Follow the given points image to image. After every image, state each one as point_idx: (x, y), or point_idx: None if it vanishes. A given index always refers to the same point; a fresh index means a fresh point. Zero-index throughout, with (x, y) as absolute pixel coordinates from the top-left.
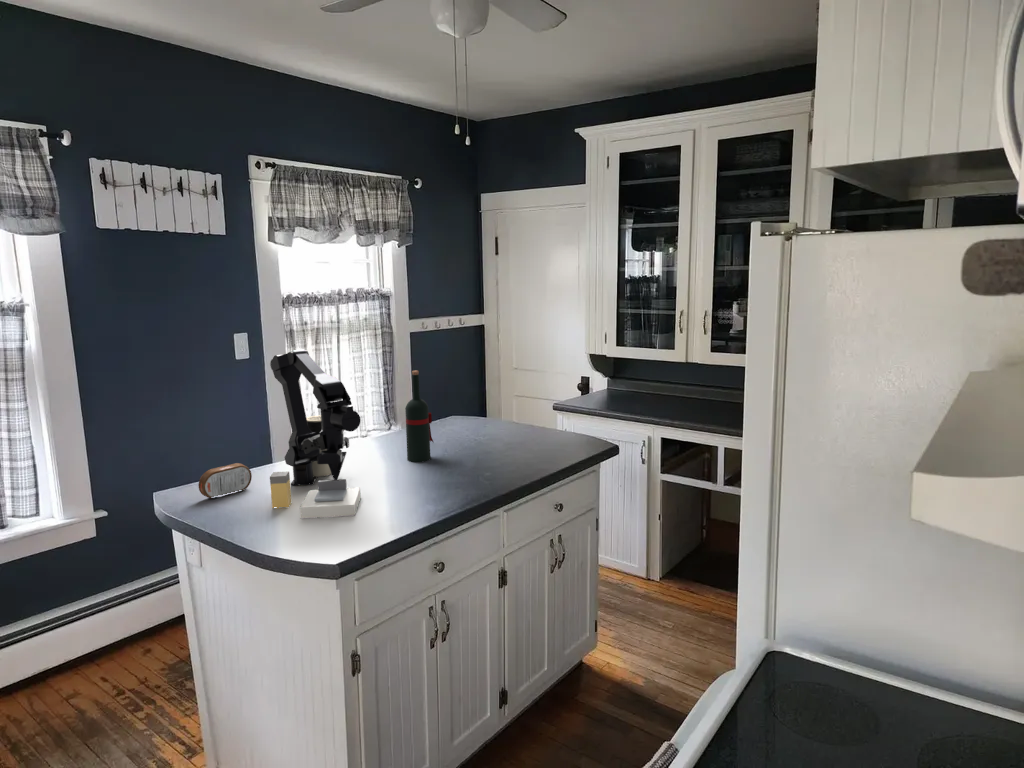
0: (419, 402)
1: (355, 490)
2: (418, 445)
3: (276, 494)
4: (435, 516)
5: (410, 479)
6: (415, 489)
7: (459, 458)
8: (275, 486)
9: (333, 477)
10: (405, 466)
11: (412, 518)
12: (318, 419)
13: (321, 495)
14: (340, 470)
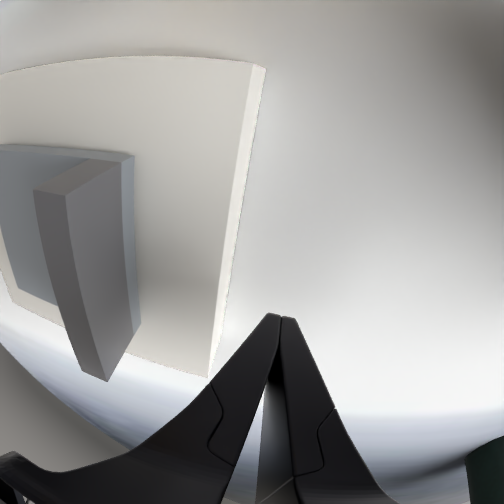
0: None
1: (162, 354)
2: (477, 489)
3: None
4: (69, 401)
5: (358, 451)
6: (257, 446)
7: (426, 485)
8: None
9: (256, 327)
10: (472, 438)
11: (51, 374)
12: None
13: (20, 186)
14: (263, 419)
